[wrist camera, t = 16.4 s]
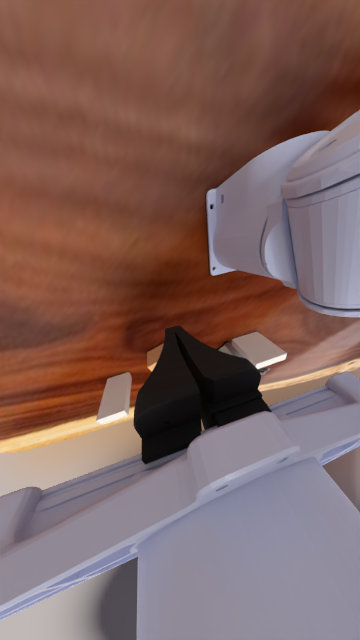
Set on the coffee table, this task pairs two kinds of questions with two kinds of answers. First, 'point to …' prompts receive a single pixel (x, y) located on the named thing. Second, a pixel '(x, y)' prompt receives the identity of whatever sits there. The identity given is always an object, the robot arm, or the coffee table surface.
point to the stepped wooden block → (153, 356)
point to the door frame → (120, 386)
